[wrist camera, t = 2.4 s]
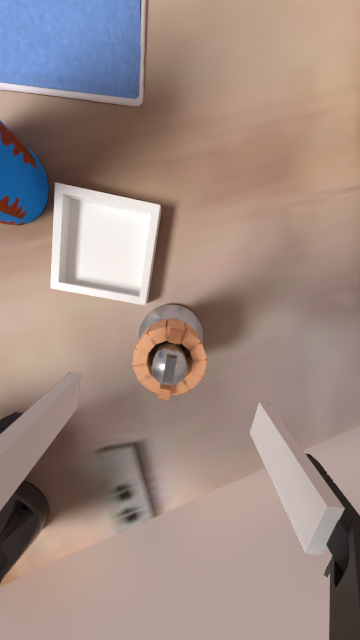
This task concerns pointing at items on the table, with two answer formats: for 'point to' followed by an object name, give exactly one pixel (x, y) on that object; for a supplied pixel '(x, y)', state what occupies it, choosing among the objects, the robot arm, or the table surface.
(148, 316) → the grey stepped cylinder
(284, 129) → the table surface
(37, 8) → the tablet computer
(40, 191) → the thermos
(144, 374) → the ring
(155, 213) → the tray
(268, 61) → the table surface
